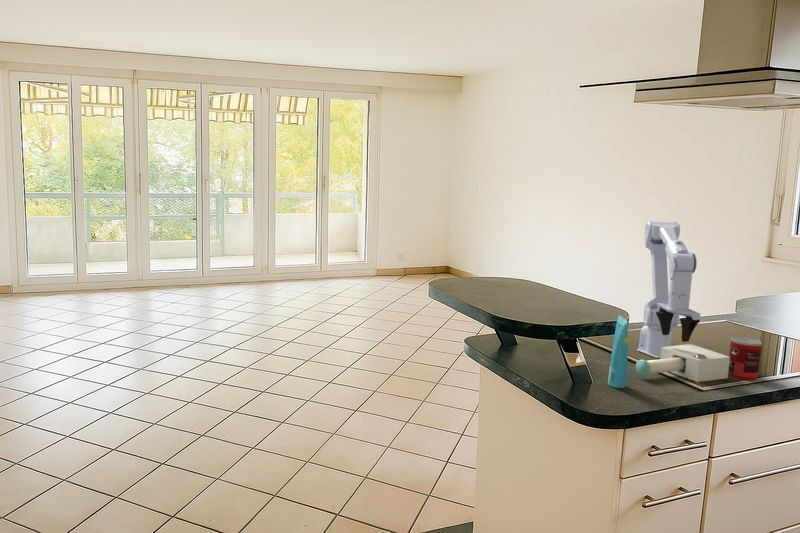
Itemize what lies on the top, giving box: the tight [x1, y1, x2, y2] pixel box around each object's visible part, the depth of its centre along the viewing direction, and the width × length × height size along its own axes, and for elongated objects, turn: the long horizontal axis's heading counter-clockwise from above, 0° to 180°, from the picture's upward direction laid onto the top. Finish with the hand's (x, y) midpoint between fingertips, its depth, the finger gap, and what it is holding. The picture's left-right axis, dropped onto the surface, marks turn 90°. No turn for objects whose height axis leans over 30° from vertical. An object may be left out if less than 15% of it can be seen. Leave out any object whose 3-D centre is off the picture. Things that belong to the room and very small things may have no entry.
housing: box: [659, 343, 730, 383], centre depth 184 cm, size 14×12×6 cm
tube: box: [607, 314, 629, 389], centre depth 170 cm, size 7×5×19 cm, turn 3°
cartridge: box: [635, 357, 686, 378], centre depth 180 cm, size 5×17×5 cm, turn 112°
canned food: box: [728, 336, 763, 381], centre depth 182 cm, size 8×8×11 cm
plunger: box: [696, 354, 705, 359], centre depth 178 cm, size 2×2×4 cm
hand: (675, 338), depth 185 cm, fingers open, 7 cm apart
